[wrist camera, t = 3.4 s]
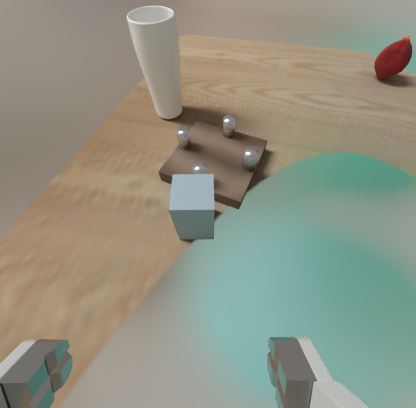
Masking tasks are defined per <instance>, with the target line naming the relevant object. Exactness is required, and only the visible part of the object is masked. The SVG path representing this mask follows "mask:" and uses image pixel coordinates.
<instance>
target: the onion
mask: <svg viewBox="0 0 416 408" xmlns="http://www.w3.org/2000/svg"><path fill="white" fill-rule="evenodd" d="M409 37H410V36H409V35H406V36H405V37H404V38H403V39H402V40H401V41H398V42H395V43H393V44H391V45H389V46H388V47H386V48H385V49H384V50H383V51H382V52H381V53H380V54H379V56H378V57H377V59H376V61H375V71H376V74H377V77H378V79H383V78H387V77H391V76H393V75H396V74H398V73H399V72H401V71H402V70H403V69H404V68H405V67H406V66H407V65H408V63H409V61H410V59H411V56H412V46H411V43H410V39H409Z"/></svg>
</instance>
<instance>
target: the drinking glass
mask: <svg viewBox="0 0 416 408" xmlns="http://www.w3.org/2000/svg"><path fill="white" fill-rule="evenodd" d="M127 21H128V25H129V30H130V34H131V38H132V41H133V45H134V48H135V52H136V55H137V57H138V61H139V63H140V66H141V69H142V72H143V75H144V77H145V80H146V83H147V86H148V89H149V91H150V94H151V97H152V100H153V103H154V106H155V110H156V113H157V115H158V116H159V117H161V118H163V119H173V118H176V117H178V116H179V115H180V114H181V113H182V110H183V107H182V99H181V79H180V57H179V42H178V34H177V27H176V20H175V14H174V11H173V10H172V9H170V8H167V7H163V6H147V7H141V8H138V9H135V10H132V11H131V12H129V13H128V15H127Z"/></svg>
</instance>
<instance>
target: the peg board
mask: <svg viewBox="0 0 416 408" xmlns="http://www.w3.org/2000/svg"><path fill="white" fill-rule="evenodd" d="M235 125H236V117H235V116H234V115H226V116H224V118H223V128H221V127H218V126H214V125H211V124H207V123H204V122H200V121H196V122H195V124H194V125H193V126H192V128H191V129H189V128H188V127H186V126H181V127H179V128H178V129H177V137H178V142H179V145H178V147H177V148H176V149H175V151H174V152H173V153H172V155H171V156H170V157H169V159H168V160H167V161H166V163H165V164H164V165H163V167H162V168H161V169H160V171H159V175H160V177H161V180H163V181H165V182H168V183H170V184H172V176H173V174H214V200H215V201H218V202H221V203H223V204H226V205H229V206H231V207H234V208H236V209H239V208H240V206H241V203H242V201H243V199H244V196H245V194H246V192H247V190H248V187H249V185H250V183H251V180H252V178H253V176H254V174H255V171H256V169H257V167H258V164H259V162H260V160H261V157H262V155H263V153H264V151H265V148H266V144H267V140H263V139H260V138H256V137H253V136H249V135H246V134H242V133H239V132H235Z"/></svg>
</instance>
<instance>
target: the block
mask: <svg viewBox="0 0 416 408" xmlns="http://www.w3.org/2000/svg"><path fill="white" fill-rule="evenodd" d="M169 212H170V215H171V217H172V220H173V223H174V225H175V228H176V231H177V234H178V236H179V239H213V238H214V174H173V176H172V185H171V194H170V204H169Z"/></svg>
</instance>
